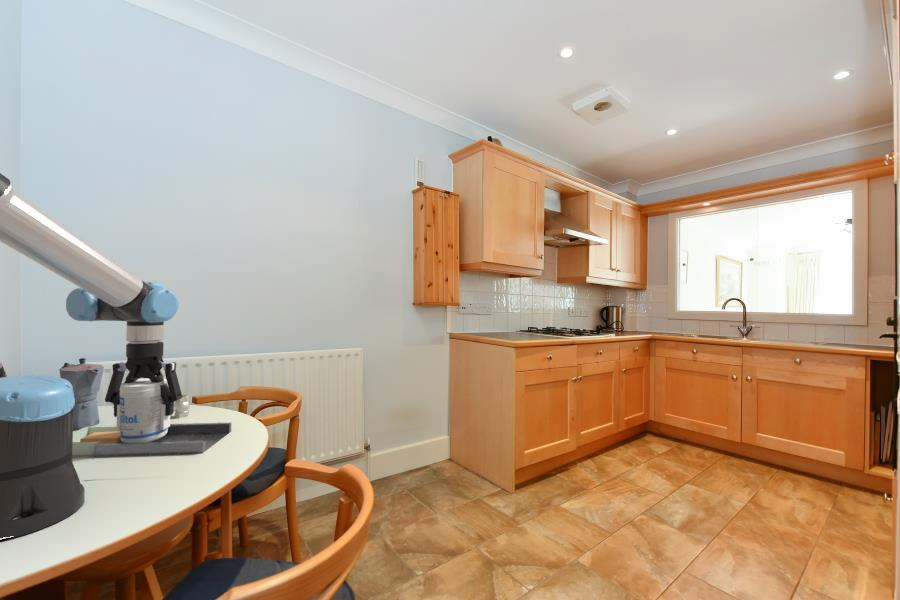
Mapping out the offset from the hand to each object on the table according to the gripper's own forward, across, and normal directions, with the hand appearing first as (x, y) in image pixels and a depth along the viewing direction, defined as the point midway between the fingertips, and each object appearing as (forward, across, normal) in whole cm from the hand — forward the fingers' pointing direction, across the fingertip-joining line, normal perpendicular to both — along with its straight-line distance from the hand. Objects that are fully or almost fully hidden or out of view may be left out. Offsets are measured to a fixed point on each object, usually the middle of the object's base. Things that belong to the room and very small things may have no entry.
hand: (143, 428), depth 98 cm
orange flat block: (+4, +7, 0) cm, 8 cm away
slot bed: (+4, -6, 0) cm, 7 cm away
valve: (+4, +7, -22) cm, 24 cm away
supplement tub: (+3, 0, 0) cm, 3 cm away
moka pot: (+4, +28, -16) cm, 33 cm away
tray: (+4, +12, 0) cm, 13 cm away
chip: (+4, +11, 0) cm, 11 cm away
